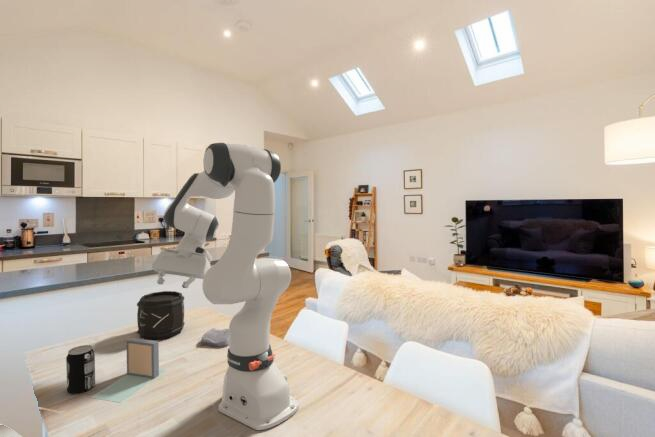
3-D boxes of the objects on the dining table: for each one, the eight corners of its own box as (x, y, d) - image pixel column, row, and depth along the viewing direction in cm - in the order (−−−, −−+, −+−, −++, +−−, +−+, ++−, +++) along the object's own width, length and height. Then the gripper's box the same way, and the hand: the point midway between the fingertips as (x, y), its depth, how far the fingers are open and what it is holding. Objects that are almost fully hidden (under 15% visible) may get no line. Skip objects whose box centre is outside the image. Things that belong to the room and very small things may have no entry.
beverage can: (65, 389, 96) (64, 349, 95) (92, 381, 101) (92, 342, 100) (68, 399, 91) (67, 356, 91) (97, 389, 96) (96, 349, 95)
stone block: (228, 352, 125) (237, 336, 135) (227, 341, 124) (236, 326, 134) (198, 351, 127) (210, 336, 136) (197, 340, 125) (208, 325, 135)
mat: (166, 371, 107) (166, 370, 107) (120, 403, 89) (120, 402, 89) (140, 367, 109) (140, 366, 109) (90, 398, 92) (90, 397, 92)
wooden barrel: (128, 334, 136) (127, 296, 135) (170, 322, 150) (170, 288, 150) (148, 346, 125) (148, 305, 124) (192, 332, 139) (192, 295, 139)
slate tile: (132, 371, 106) (131, 337, 105) (158, 375, 103) (158, 341, 103) (126, 374, 104) (126, 340, 103) (153, 378, 101) (153, 343, 101)
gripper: (159, 243, 122) (140, 277, 114) (211, 250, 119) (195, 285, 111) (166, 252, 127) (149, 285, 119) (216, 259, 124) (201, 293, 116)
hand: (171, 285), depth 115 cm, fingers open, 8 cm apart
